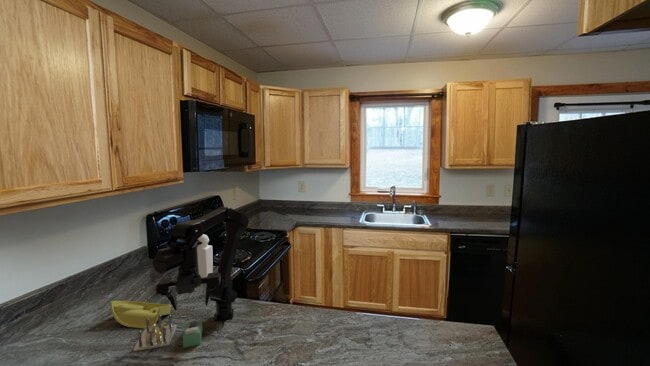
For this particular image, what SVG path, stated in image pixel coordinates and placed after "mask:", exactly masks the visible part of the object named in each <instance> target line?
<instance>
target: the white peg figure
mask: <svg viewBox="0 0 650 366" xmlns="http://www.w3.org/2000/svg"><path fill="white" fill-rule="evenodd" d="M198 240H199V241H201V242H202V244H201V245H198V246H197V253H198V269H199V275H200V276H201V278H204V277H207V276H208V273H214V271H213V270H214V269H213V268H214V266H213V265H214V263H213V260H214V259H213V258H214V257H213V256H214V255H213V245H209V242H210V239H209V236H208V235H207V234H204V233H203V235H202V236H201V237H200V238H198Z"/></svg>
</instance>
